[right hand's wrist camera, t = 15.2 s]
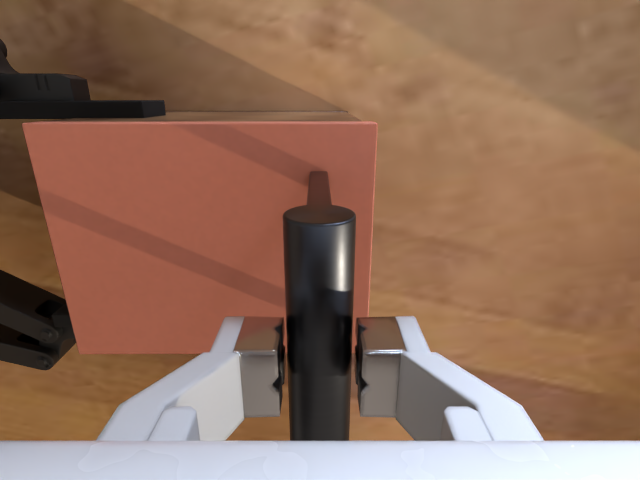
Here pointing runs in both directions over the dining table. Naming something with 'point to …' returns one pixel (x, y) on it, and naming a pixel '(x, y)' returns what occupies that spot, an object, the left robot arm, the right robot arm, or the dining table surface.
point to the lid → (216, 240)
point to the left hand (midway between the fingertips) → (169, 217)
